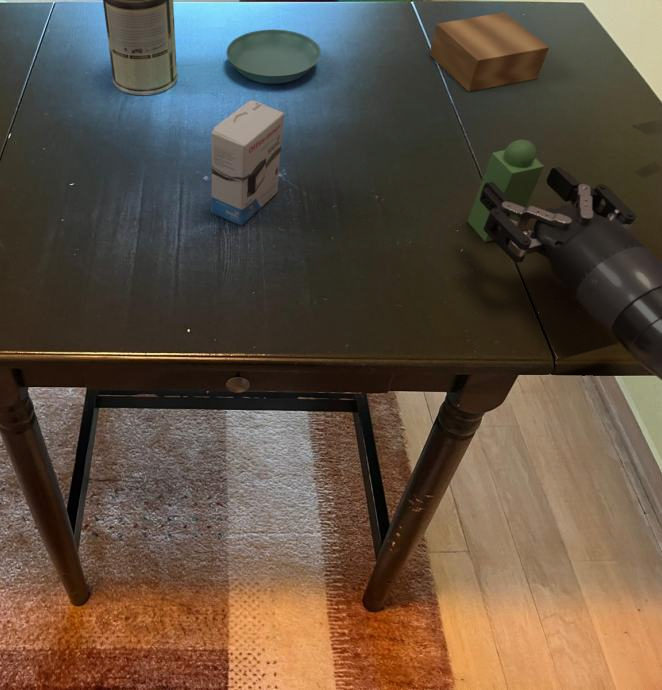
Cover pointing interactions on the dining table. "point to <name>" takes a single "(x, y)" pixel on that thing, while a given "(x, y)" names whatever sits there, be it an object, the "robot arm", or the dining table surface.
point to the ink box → (246, 161)
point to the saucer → (273, 55)
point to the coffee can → (141, 45)
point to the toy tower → (508, 180)
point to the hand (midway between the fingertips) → (518, 181)
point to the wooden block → (487, 51)
